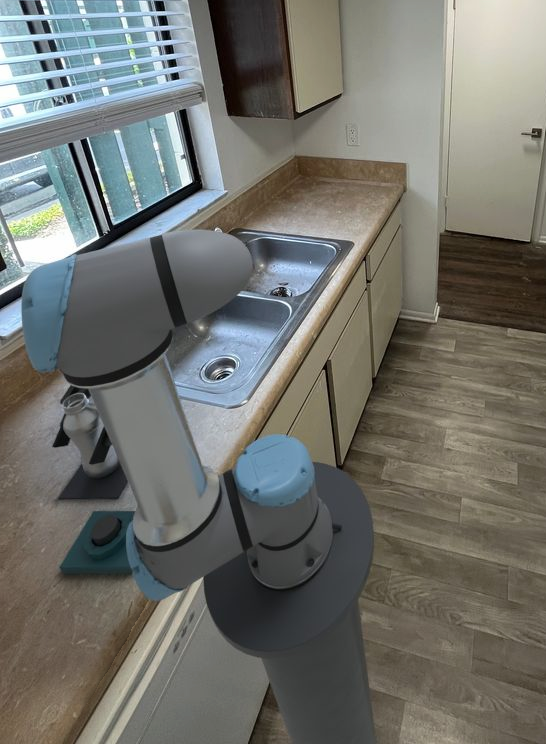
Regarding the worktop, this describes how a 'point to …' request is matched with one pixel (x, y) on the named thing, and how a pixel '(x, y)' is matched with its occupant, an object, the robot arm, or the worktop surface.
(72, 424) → the silver bottle
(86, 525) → the teal pump base
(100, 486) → the mat
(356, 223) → the worktop surface
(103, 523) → the button
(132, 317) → the robot arm
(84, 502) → the worktop surface
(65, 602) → the worktop surface
